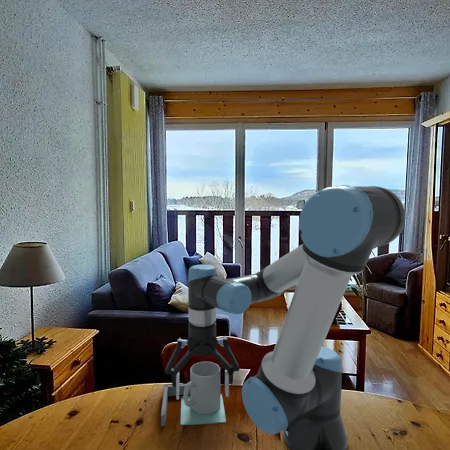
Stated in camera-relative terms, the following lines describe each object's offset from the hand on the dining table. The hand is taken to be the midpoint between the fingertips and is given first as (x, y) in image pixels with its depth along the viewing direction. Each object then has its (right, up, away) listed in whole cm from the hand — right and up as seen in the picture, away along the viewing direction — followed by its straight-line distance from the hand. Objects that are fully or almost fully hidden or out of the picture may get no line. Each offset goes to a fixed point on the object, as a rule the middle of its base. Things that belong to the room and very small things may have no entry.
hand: (202, 395), depth 103 cm
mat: (0, -4, 0) cm, 4 cm away
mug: (0, -4, 0) cm, 4 cm away
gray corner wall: (-3, -4, +1) cm, 5 cm away
